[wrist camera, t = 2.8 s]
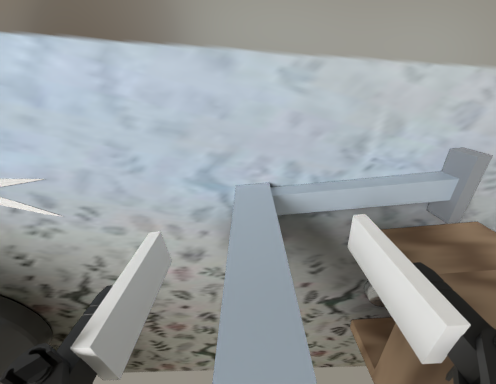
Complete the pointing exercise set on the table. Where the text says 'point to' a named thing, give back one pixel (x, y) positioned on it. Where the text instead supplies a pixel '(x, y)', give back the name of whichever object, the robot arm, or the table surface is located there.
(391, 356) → the wooden arch block
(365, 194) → the push tool
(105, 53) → the table surface
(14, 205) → the scissors
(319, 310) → the table surface
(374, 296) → the steel token
